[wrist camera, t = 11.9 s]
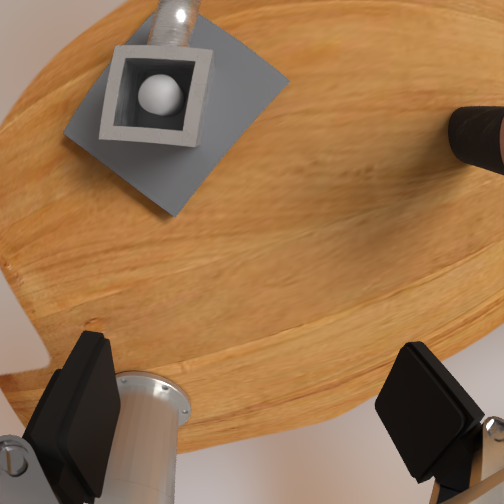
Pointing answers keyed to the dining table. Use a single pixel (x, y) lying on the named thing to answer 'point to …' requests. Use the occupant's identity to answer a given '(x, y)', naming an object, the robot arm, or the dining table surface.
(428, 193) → the dining table surface
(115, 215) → the dining table surface
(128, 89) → the grey hollow block
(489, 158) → the travel mug
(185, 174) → the plate
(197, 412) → the dining table surface
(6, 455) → the robot arm
